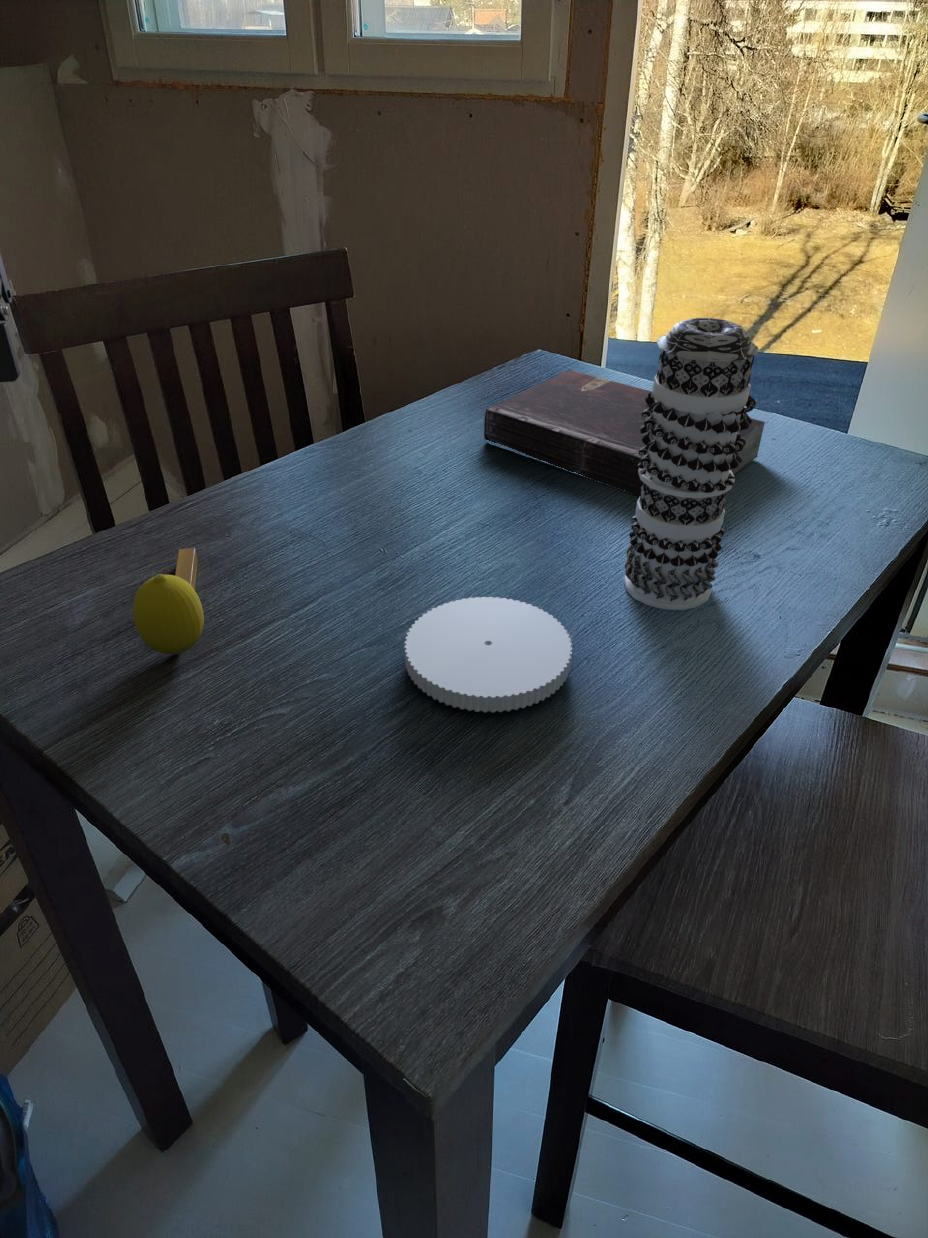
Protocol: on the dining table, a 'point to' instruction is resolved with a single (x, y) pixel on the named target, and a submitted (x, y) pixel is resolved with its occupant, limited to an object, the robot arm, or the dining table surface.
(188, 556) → the block
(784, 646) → the dining table surface
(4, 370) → the robot arm
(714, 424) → the decorative candle
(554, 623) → the white gear wheel
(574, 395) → the hardback book
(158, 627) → the lemon
